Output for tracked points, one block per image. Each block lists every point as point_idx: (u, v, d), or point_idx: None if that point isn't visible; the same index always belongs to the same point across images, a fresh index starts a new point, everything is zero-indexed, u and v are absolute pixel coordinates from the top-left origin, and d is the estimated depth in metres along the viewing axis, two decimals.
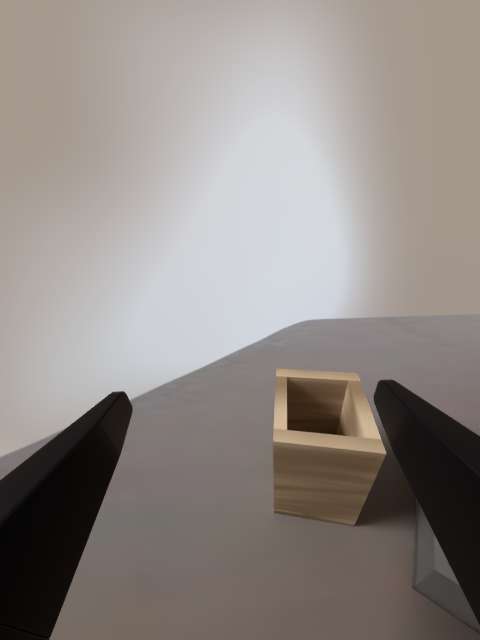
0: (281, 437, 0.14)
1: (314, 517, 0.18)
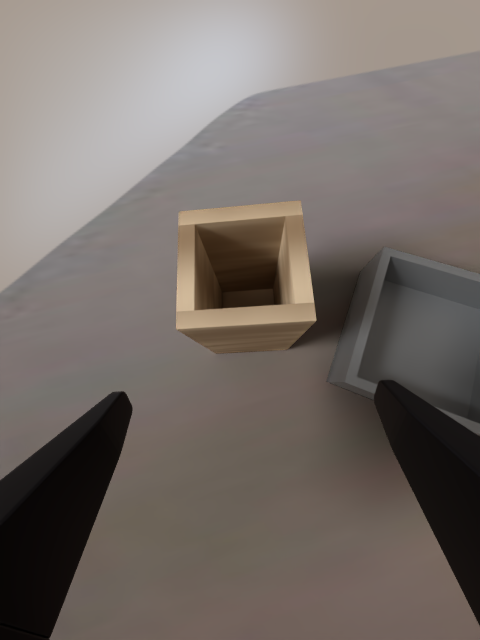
0: (186, 322, 0.10)
1: (252, 351, 0.19)
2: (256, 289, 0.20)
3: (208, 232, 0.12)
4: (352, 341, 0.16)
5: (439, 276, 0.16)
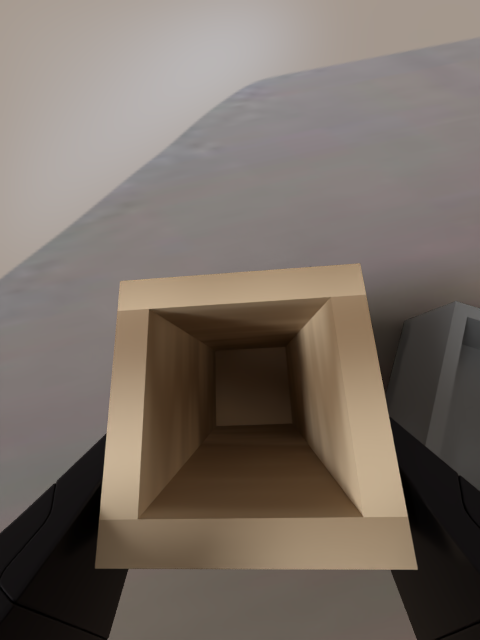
0: (119, 552, 0.05)
1: None
2: (262, 348, 0.14)
3: (179, 315, 0.06)
4: None
5: None
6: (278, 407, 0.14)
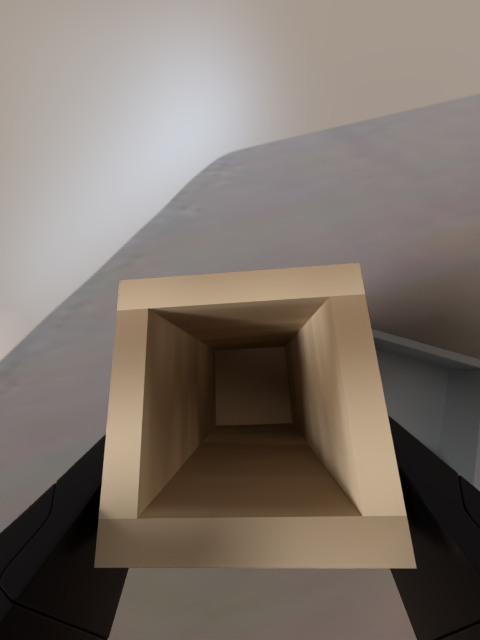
0: (118, 551, 0.05)
1: None
2: (261, 347, 0.14)
3: (179, 315, 0.06)
4: None
5: (402, 347, 0.18)
6: (278, 407, 0.14)
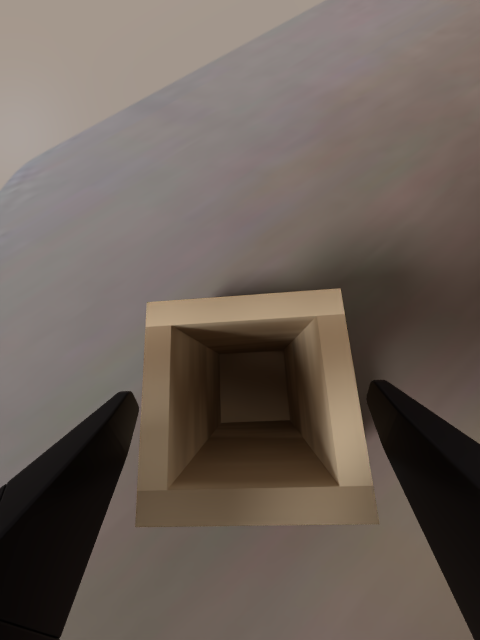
0: (153, 514, 0.06)
1: None
2: (262, 351, 0.16)
3: (194, 329, 0.08)
4: None
5: None
6: (277, 405, 0.15)
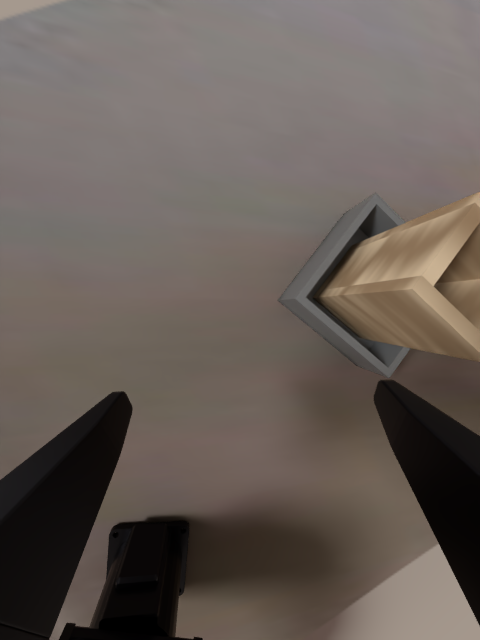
0: (421, 290, 0.11)
1: (339, 319, 0.21)
2: None
3: None
4: (313, 268, 0.18)
5: None
6: None
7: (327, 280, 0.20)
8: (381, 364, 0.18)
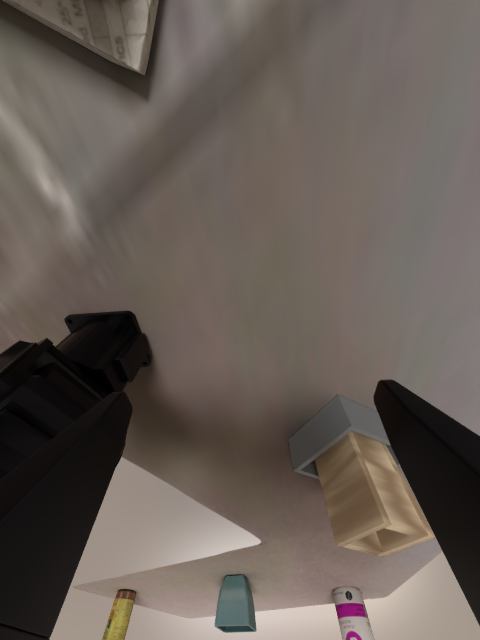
0: (382, 525, 0.19)
1: None
2: None
3: None
4: (370, 427, 0.25)
5: None
6: None
7: None
8: (302, 467, 0.28)
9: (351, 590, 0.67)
